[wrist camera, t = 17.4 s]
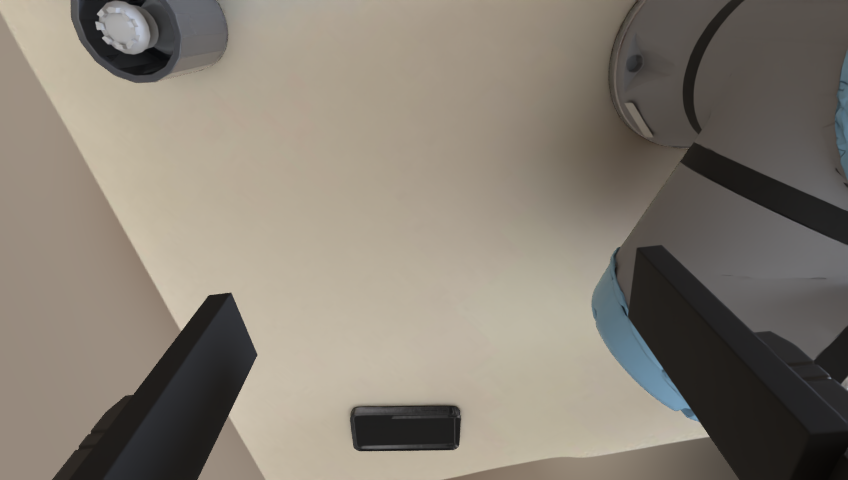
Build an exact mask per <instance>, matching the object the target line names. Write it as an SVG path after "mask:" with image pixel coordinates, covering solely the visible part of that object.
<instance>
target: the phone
mask: <svg viewBox="0 0 848 480" xmlns="http://www.w3.org/2000/svg"><path fill="white" fill-rule="evenodd" d="M350 422H351V431H352V439H353V446H354V448H355V449H356V450H358V451H419V450H454V449H456V448H458V447H459V440H460V423H461V416H460V410H459V409H458V408H457V407H453V406H437V407H358V408H354V409H353V410H352V412H351V418H350Z"/></svg>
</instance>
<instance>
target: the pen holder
mask: <svg viewBox="0 0 848 480" xmlns="http://www.w3.org/2000/svg"><path fill="white" fill-rule="evenodd" d="M112 1H122V2H126V3H128V4H130V5H135V6H139V7H141V6H142V5H143V4H144V2H145V1H146V0H71V18H72V22H73V24H74V27H75V30H76V32H77V35H78V37H79V40H80V42H81V43H82V44H83V46H84V47H85V48H86V50H87V51H88V52H89V53H90V55H91V56H92V57H93V59H94V60H95V61H96V62H97V63H99V64H100V65H101V66H103V67H104V68H105V69H107V70H108V71H109V72H111V73H112V74H113V75H115V76H117V77H120V78H123V79H126V80H129V81H132V82H135V83H148V82H157V81H161V80H165V79H169V78H173V77H177V76H181V75H185V74H189V73H192V72H196V71H200V70H203V69H205V68H208V67H210V66H212V65H214V64H215V63H216V62H217V61H218V60H219V59H220V58H221V57H222V55H223V53H224V51H225V49H226V46H227V40H228V29H227V23H226V20H225V17H224V14H223V12H222V10H221V8H220V6H219V4H218V3H217V1H216V0H159V1H160V3H161V4H162V6H163V7H164V9H165V11H166V12H167V14H168V15H169V18H170V22H171V25H172V28H173V32H174V35H175V37H174V49H173V55H170V54H166V53H164V52H162V51H160V50H158V49H156V48H154V47H151V48H148V49H145V50H144V51H143V52H141V53H138V54H127V53H123V52H122V51H120V50H118V49H116V48H114V47H113V46H112V45H111V44H107V43H106V42H105V41H104V40H103V39H102V37H104V34H103V32H102V31H101V30H97V28H96V23H95V22H99V17H100V16H98V15H97V13H98V12H99V11H100V10H101V9H102V8H103V7H104V6H105V4H106V3H109V2H112Z"/></svg>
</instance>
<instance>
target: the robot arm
mask: <svg viewBox="0 0 848 480" xmlns="http://www.w3.org/2000/svg"><path fill="white" fill-rule="evenodd" d="M609 87H610V93H611V97H612V101H613V104H614V106H615V108H616V111H617V112H618V114H619V116H620V117H621V119H622V120H623V121H624V123H625V124H626V125H627V126H628V127H629V128H630V129H632V130H633V131H634V132H635V133H637V134H639V135H640V136H642V137H644V138H646V139H647V140H650V141H652V142H654V143H657V144H660V145H663V146H668V147H674V148H689V150H688V151H687V153H686V154H685V156H684V157H683V159H682V160H681V161H680V162H679V164H678V165H677V167H676V168H675V170H674V171H673V173H672V174H671V175H670V177H669V178H668V180H667V181H666V183H665V184H664V186H663V187H662V188H661V190H660V191H659V193H658V194H657V196H656V197H655V199H654V200H653V201H652V203H651V204H650V206H649V207H648V209H647V210H646V212H645V213H644V214H643V216H642V217H641V219H640V220H639V222H638V223H637V225H636V226H635V227H634V229H633V230H632V232H631V233H630V235H629V236H628V238H627V239H626V240H625V242H624V243H623V245H622V246H621V247H618V248H617V249H616V250H615V251H614V253H613V254H612V257H611V261H610V264H609V266H608V268H607V269H606V271H605V273H604V274H603V276H602V278H601V279H600V281H599V282H598V284H597V286H596V288H595V290H594V292H593V296H592V312H593V316H594V319H595V321H596V327H597V329H598V331H599V333H600V335H601V337H602V339H603V341H604V343H605V344H606V346H607V347H608V349H609V350H610V352H611V353H612V355H613V356H614V357H615V359H616V360H617V361H618V362H619V363H620V365H621V366H622V367H623V368H624V369H625V370H626V371H627V373H628V374H629V375H630V376H631V377H632V378H633V379H634V380H635V381H636V382H637V383H638V384H639V385H640V386H642V387H643V388H644V389H645V390H646V391H647V392H648V393H650V394H651V395H652V396H653V397H655V398H656V399H657V400H659V401H660V402H661V403H663V404H664V405H666V406H667V407H669V408H671V409H672V410H674V411H678V410H681V411H682V412H683V413H684V415H685V416H686V417H687V418H690V419H693V420H695V421H698V422H700V423H701V424H702V426H703V427H704V429H705V430H706V432H707V433H708V435H709V436H710V438H711V439H712V441H713V442H714V443H715V445H716V446H717V448H718V449H719V451H720V452H721V454H722V455H723V457H724V458H725V459H726V461H727V462H728V464H729V465H730V467H731V468H732V470H733V471H734V473H735V474H736V475H737V477H738V478H739V480H848V0H638V1H637V2H636V4H635V5H634V6H633V8H632V9H631V11H630V12H629V14H628V15H627V17H626V19H625V21H624V22H623V24H622V26H621V28H620V30H619V33H618V35H617V38H616V40H615V43H614V47H613V50H612V54H611V59H610V66H609ZM256 357H257V353H256V350H255V348H254V346H253V343H252V341H251V339H250V336H249V334H248V331H247V329H246V327H245V324H244V322H243V319H242V317H241V315H240V312H239V310H238V308H237V305H236V303H235V300H234V298H233V296H232V293H224V294H216V295H209V296H208V297H207V298H206V300H205V301H204V302H203V304H202V305H201V306H200V308H199V309H198V310H197V312H196V313H195V314H194V316H193V317H192V318H191V319H190V321H189V322H188V323H187V325H186V326H185V327H184V329H183V330H182V331H181V333H180V334H179V335H178V337H177V338H176V339H175V341H174V342H173V343H172V345H171V346H170V347H169V348H168V350H167V351H166V352H165V354H164V355H163V357H162V358H161V359H160V360H159V362H158V363H157V364H156V366H155V367H154V368H153V370H152V371H151V372H150V374H149V375H148V376H147V378H146V379H145V380H144V381H143V383H142V384H141V385H140V387H139V388H138V389H137V391H136V392H135V393H134V395H128V396H125V397H123V398H122V399H121V400H120V401H119V402H117V403H116V404H115V405H114V406H113V407H112V408H110V409H109V410H108V411H107V412H106V413H105V414H104V415H103V416H102V418H101V419H100V420H99V422H98V423H97V424H96V425H95V426H94V428H93V429H92V430H91V434H89V435H87V436H86V438H85V439H84V440H83V441H82V443H81V444H80V445H79V449H78V450H75V451H74V453H73V454H72V455H71V457H70V458H69V459H68V460H67V462H66V463H65V464H64V465H63V467H62V468H61V469H60V471H59V472H58V473H57V474H56V475H55V477H54V478H53V479H52V480H197V479H198V477H199V475H200V473H201V471H202V469H203V466H204V465H205V463H206V461H207V459H208V456H209V454H210V452H211V450H212V448H213V446H214V444H215V442H216V440H217V438H218V436H219V433H220V432H221V430H222V427H223V425H224V423H225V421H226V419H227V417H228V415H229V413H230V411H231V409H232V407H233V405H234V403H235V400H236V398H237V396H238V394H239V392H240V390H241V388H242V386H243V384H244V382H245V380H246V378H247V376H248V374H249V371H250V369H251V367H252V365H253V363H254V361H255V359H256Z"/></svg>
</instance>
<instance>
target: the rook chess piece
mask: <svg viewBox="0 0 848 480" xmlns="http://www.w3.org/2000/svg"><path fill="white" fill-rule="evenodd" d="M97 15H98V16H100V17H99V22H95V23H96V28H97V30H101V31H102V32H103V34H104V37H102V39H103V40H104V41H105V42H106V43H107V44H111V45H112V46H113V47H114V48H116V49H118V50H120V51H122V52H123V53H127V54H138V53H141V52H143V51H144V50H145V49H148V48H151V47H154V48H156V49H158V50H160V51H162V52H164V53H166V54H170V55H173V49H174V37H175V35H174V32H173V28H172V25H171V22H170V18H169V15H168V14H167V12H166V11H165V9H164V7H163V6H162V4H161V3H160V1H159V0H146V1H145V2H144V4H143V5H142V6H141V7H139V6H135V5H130V4H128V3H126V2H122V1H112V2H109V3H106V4H105V6H104V7H103V8H102V9H101V10H100V11H99V12H98V13H97Z"/></svg>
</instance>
